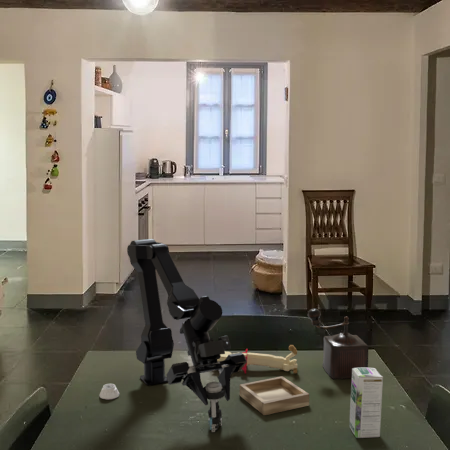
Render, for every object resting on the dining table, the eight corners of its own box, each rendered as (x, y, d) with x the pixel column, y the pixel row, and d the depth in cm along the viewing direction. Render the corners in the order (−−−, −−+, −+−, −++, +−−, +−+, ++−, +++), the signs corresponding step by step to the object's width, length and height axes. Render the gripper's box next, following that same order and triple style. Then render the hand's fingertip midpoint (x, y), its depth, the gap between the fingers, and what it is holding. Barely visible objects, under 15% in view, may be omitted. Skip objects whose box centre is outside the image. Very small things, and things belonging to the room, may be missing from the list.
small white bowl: (123, 396, 161) (112, 391, 165) (122, 385, 161) (111, 380, 164) (106, 402, 158) (95, 396, 161) (106, 391, 157) (95, 385, 161)
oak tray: (239, 395, 162) (239, 384, 161) (282, 386, 167) (282, 376, 167) (264, 415, 150) (264, 403, 150) (309, 405, 156) (309, 394, 155)
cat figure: (294, 368, 184) (211, 360, 185) (297, 340, 183) (213, 332, 184) (296, 381, 174) (208, 373, 175) (299, 352, 173) (211, 343, 174)
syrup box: (348, 426, 144) (350, 367, 142) (373, 425, 145) (375, 366, 143) (355, 438, 139) (357, 376, 136) (381, 437, 139) (383, 376, 137)
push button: (224, 434, 140) (222, 392, 138) (201, 433, 140) (199, 392, 139) (228, 420, 146) (226, 380, 145) (205, 420, 147) (204, 380, 145)
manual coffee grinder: (355, 363, 184) (357, 305, 182) (368, 378, 174) (370, 316, 171) (304, 366, 182) (305, 307, 180) (314, 380, 171) (316, 318, 169)
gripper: (170, 330, 139) (189, 395, 131) (243, 320, 147) (266, 380, 139) (158, 352, 148) (176, 415, 139) (229, 341, 156) (249, 400, 148)
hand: (217, 402), depth 141 cm, fingers closed on push button, 5 cm apart
